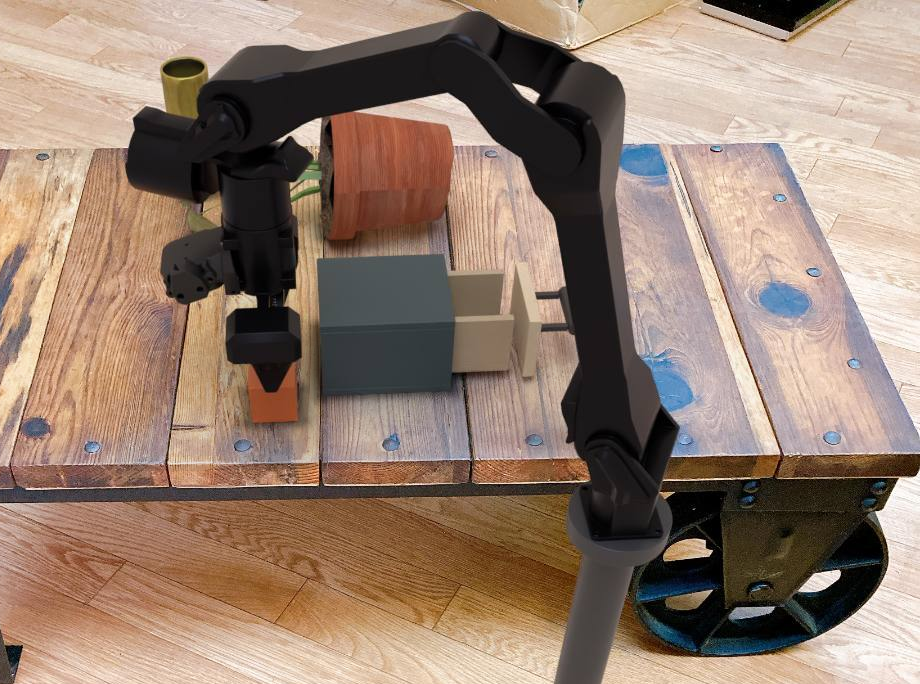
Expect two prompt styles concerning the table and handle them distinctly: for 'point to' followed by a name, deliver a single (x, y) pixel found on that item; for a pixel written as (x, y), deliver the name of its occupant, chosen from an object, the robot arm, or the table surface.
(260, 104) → the robot arm
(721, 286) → the table surface
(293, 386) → the block
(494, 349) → the drawer
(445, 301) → the cabinet
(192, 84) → the vase
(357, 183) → the potted plant
